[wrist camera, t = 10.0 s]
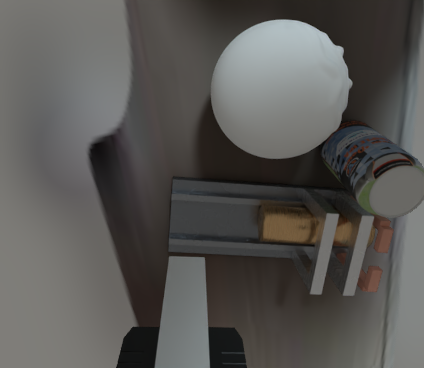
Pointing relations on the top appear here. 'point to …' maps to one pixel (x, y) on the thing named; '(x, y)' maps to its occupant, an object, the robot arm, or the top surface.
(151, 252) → the top surface
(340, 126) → the beverage can
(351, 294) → the collar
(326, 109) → the decorative ball
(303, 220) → the copper tube
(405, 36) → the top surface
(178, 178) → the grey open frame rack
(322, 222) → the collar
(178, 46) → the top surface
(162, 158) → the top surface
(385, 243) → the aperture bridge
